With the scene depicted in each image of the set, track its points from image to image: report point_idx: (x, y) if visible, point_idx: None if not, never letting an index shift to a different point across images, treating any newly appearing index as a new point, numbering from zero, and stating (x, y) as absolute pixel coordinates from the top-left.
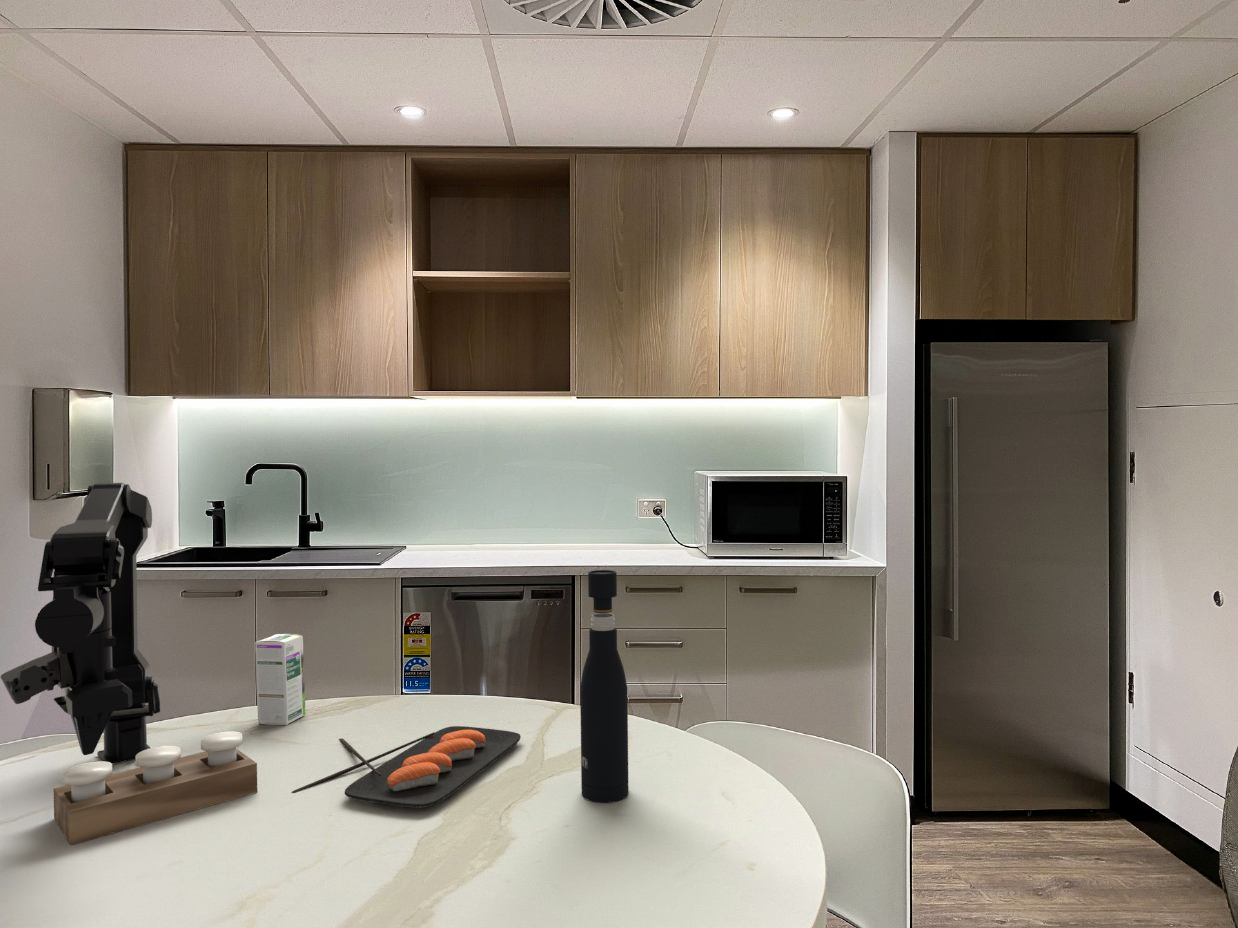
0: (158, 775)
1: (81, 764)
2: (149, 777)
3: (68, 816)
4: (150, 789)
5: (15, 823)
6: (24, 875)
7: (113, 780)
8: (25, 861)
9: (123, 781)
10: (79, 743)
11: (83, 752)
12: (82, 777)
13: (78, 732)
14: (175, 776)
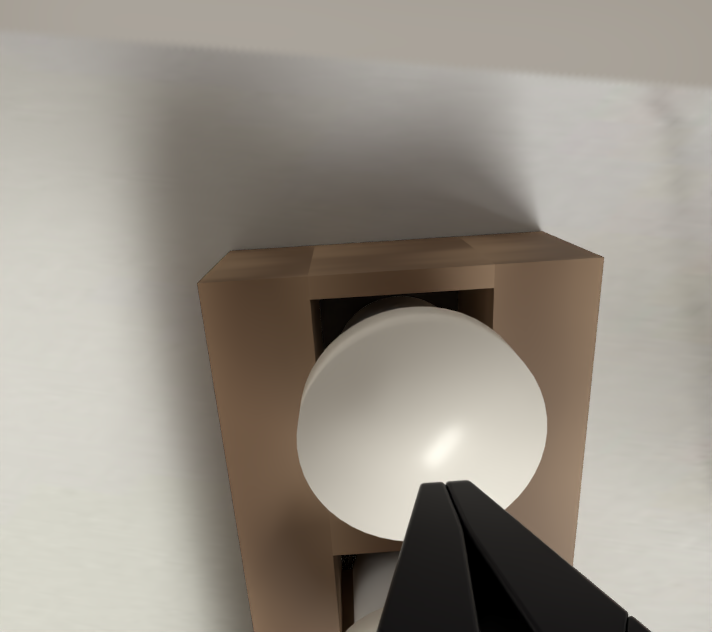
0: (357, 616)
1: (538, 421)
2: (374, 586)
3: (234, 273)
4: (258, 565)
5: (615, 99)
6: (37, 82)
7: None
8: (175, 98)
9: None
10: (493, 519)
11: (417, 494)
12: (305, 400)
13: (397, 626)
14: None
